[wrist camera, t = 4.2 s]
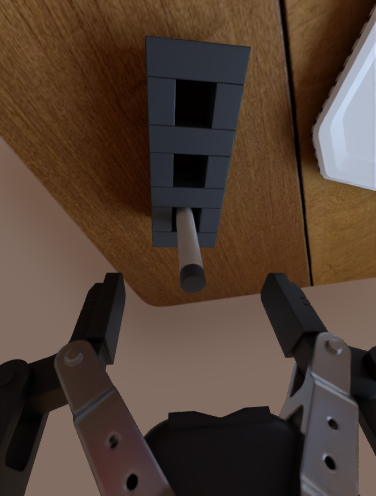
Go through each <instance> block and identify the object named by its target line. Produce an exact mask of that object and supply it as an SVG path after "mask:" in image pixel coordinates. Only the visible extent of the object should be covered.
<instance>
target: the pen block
mask: <svg viewBox="0 0 376 496" xmlns="http://www.w3.org/2000/svg"><path fill="white" fill-rule="evenodd" d="M145 47H146V75H147V103H148V124H149V125H148V130H149V151H150V152H149V158H150V185H151V212H152V241H153V247H178V237H177V223H176V208H175V207H191V208H192V213H193V218H194V223H195V228H196V233H197V239H198V244H199V247H210V248H214V247H215V242H216V237H217V231H218V226H219V220H220V215H221V208H222V204H223V198H224V193H225V187H226V181H227V176H228V171H229V165H230V160H231V157H230V156H231V154H232V149H233V143H234V138H235V132H236V131H235V130H236V127H237V122H238V117H239V111H240V106H241V100H242V95H243V89H244V83H245V78H246V72H247V67H248V61H249V56H250V50H251V47H246V46H237V45H228V44H219V43H209V42H200V41H191V40H182V39H173V38H164V37H154V36H145ZM176 79H178V80H189V81H200V82H205V85H204V95H203V106H202V118H197V117H183V116H175V94H176ZM174 153H175V154H194V155H198V160H197V167H184V166H173V163H174Z"/></svg>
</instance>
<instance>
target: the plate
mask: <svg viewBox="0 0 376 496" xmlns="http://www.w3.org/2000/svg"><path fill="white" fill-rule="evenodd" d="M311 137H312V142H313V146H314V151H315V156H316V160H317V165H318V169H319V173H320V175H321V176H322V177H323V178H325V179H329V180H333V181H337V182H341V183H345V184H349V185H354V186H358V187H362V188H366V189H370V190H374V191H376V2H375V4H374V6H373V8H372V10H371V12H370V14H369V16H368V18H367V20H366V22H365V24H364V26H363V28H362V30H361V32H360V34H359V36H358V38H357V40H356V42H355V43H354V45H353V47H352V49H351V51H350V53H349V55H348V57H347V59H346V61H345V63H344V65H343V67H342V69H341V71H340V73H339V75H338V77H337V79H336V81H335V83H334V84H333V86H332V88H331V90H330V92H329V94H328V96H327V98H326V100H325V102H324V104H323V106H322V108H321V110H320V112H319V114H318V116H317V118H316V120H315V122H314V124H313V126H312V131H311Z"/></svg>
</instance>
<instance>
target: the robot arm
mask: <svg viewBox="0 0 376 496" xmlns="http://www.w3.org/2000/svg"><path fill="white" fill-rule="evenodd" d="M125 297H126V295H125V287H124V280H123V274H122V273H107V274H106V276H105V279H104V282H103V283H95V284H94V286H93V287H92V288H91V289H90V290H89V291H88V294H87V297H86V299H85V302H84V305H83V309H82V310H81V313H80V315H79V318H78V321H77V323H76V326H75V329H74V332H73V334H72V337H71V339H70V341H69V342H68V344H66V345H65V346H64V347H62V348H61V350H60V351H59V352H58V353H56V354H54V355H52V356H50V357H48V358H44V359H41V360H38V361H36V362H33V363H29V364H27V362H25V361H24V360H20V359H15V360H11V361H7V362H5V363H3V364H1V365H0V496H24V494H25V491H26V487H27V484H28V481H29V477H30V474H31V470H32V467H33V464H34V461H35V457H36V454H37V451H38V448H39V444H40V441H41V438H42V434H43V431H44V428H45V425H46V421H47V418H48V415H49V412H50V411H52V410H55V409H57V408H59V407H62V406H64V405H67V404H69V406H70V409H71V412H72V414H73V422H74V426H75V428H76V431H77V434H78V437H79V439H80V442H81V444H82V447H83V450H84V452H85V455H86V458H87V460H88V463H89V465H90V468H91V471H92V473H93V476H94V478H95V481H96V484H97V487H98V489H99V492H100V494H101V496H360V495H359V494H358V429H359V428H358V427H359V426H358V424H360V426H361V428H362V430H363V432H364V434H365V436H366V438H367V440H368V442H369V444H370V445H371V448H372V449H373V451H374V453H375V455H376V346H375V347H372V348H371V349H370V350H369V351H365V350H361V349H358V348H354V347H350V346H347V344H346V343H345V342H344V341H343V340H342V339H341V338H339V337H338V336H336V335H334V334H332V333H329V332H328V331H327V329H326V327H325V326H324V324H323V323H322V321H321V320H320V318H319V316H318V315H317V313H316V312H315V310H314V309H313V307H312V306H311V305H310V302H309V301H308V299H306V296H305V294H304V293H303V291H302V290H301V289H300V288H299V287H298V286H297V285H296V284H295V283H293V282H290V281H289V280H288V278H287V276H286V275H285V274H284V273H269V274H268V276H267V278H266V280H265V283H264V285H263V288H262V290H261V301H262V303H263V306H264V308H265V310H266V313H267V315H268V318H269V320H270V322H271V325H272V327H273V329H274V332H275V334H276V337H277V339H278V341H279V344H280V346H281V348H282V351H283V353H284V355H285V357H286V358H290V357H291V358H292V357H294V358H295V361H296V363H295V365H294V369H293V373H292V377H291V381H290V385H289V390H288V394H287V398H286V401H285V403H284V405H283V407H282V410H281V412H280V414H279V416H276V415H274V414H271V413H270V410H269V407H268V406H264V407H249V408H243V409H241V410H238V411H236V412H234V413H231V414H229V415H227V416H224V417H215V416H211V415H207V414H203V413H200V412H196V411H187V412H173V413H169V415H168V419H167V420H165V421H163V422H161V423H159V424H157V425H156V426H155V427H153V428H152V429H151V430H150V431H149V432H148V433H147V434H146V435H145V436H144V437H143V436H142V434H141V432H140V430H139V428H138V426H137V425H136V423H135V421H134V419H133V417H132V415H131V414H130V412H129V410H128V408H127V407H126V405H125V403H124V401H123V399H122V397H121V396H120V394H119V392H118V390H117V389H116V387H115V386H114V385H113V384H112V382H111V380H110V378H109V376H108V374H107V373H106V371H105V370H106V365H111V364H113V363H114V358H115V352H116V347H117V342H118V337H119V331H120V327H121V321H122V316H123V311H124V305H125Z"/></svg>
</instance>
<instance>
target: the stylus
mask: <svg viewBox="0 0 376 496" xmlns="http://www.w3.org/2000/svg"><path fill="white" fill-rule="evenodd" d="M175 208H176V223H177V237H178V252H179V266H180V281H181V287H182V289H183V290H184V291H186V292H190V293H195V292H199V291H201V290H202V289H203V288H204V287H205V285H206V280H205V275H204V270H203V264H202V259H201V254H200V249H199V244H198V239H197V233H196V228H195V223H194V218H193V213H192V208H191V207H175Z"/></svg>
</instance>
